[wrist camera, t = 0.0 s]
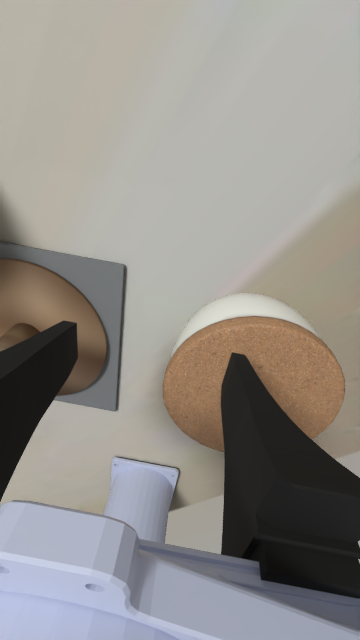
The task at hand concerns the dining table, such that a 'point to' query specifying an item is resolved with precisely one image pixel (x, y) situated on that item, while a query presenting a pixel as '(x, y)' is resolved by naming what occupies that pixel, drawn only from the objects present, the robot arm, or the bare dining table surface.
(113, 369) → the mat
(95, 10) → the dining table surface
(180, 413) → the lidded jar
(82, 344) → the lid
